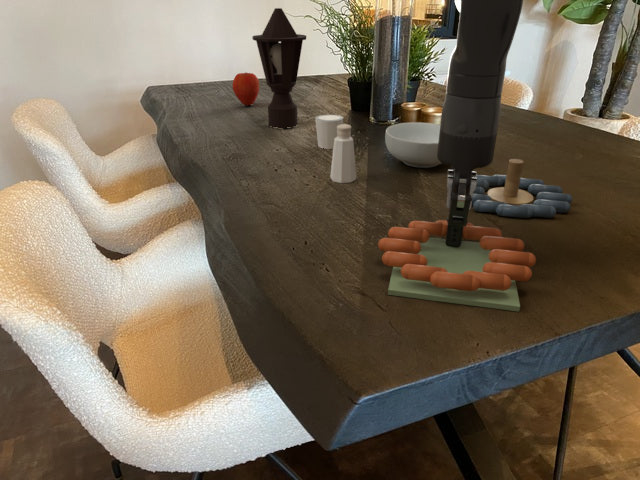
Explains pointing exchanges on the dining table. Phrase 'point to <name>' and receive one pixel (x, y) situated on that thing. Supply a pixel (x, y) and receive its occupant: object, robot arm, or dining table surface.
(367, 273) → the dining table surface
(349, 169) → the pepper shaker
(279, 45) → the lantern
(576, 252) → the dining table surface
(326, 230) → the dining table surface
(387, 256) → the top ring
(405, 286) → the mat
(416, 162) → the cereal bowl
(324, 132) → the white sugar pot
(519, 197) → the ring stand
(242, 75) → the apple
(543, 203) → the bottom ring
